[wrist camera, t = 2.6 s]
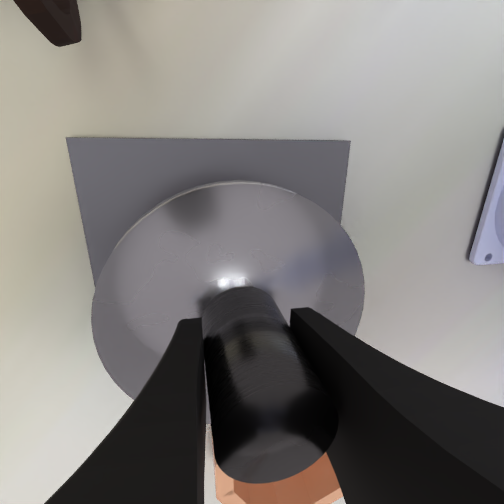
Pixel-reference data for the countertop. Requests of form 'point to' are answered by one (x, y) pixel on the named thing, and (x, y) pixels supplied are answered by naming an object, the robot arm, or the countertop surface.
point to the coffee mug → (54, 19)
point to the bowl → (282, 487)
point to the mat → (191, 177)
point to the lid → (234, 314)
